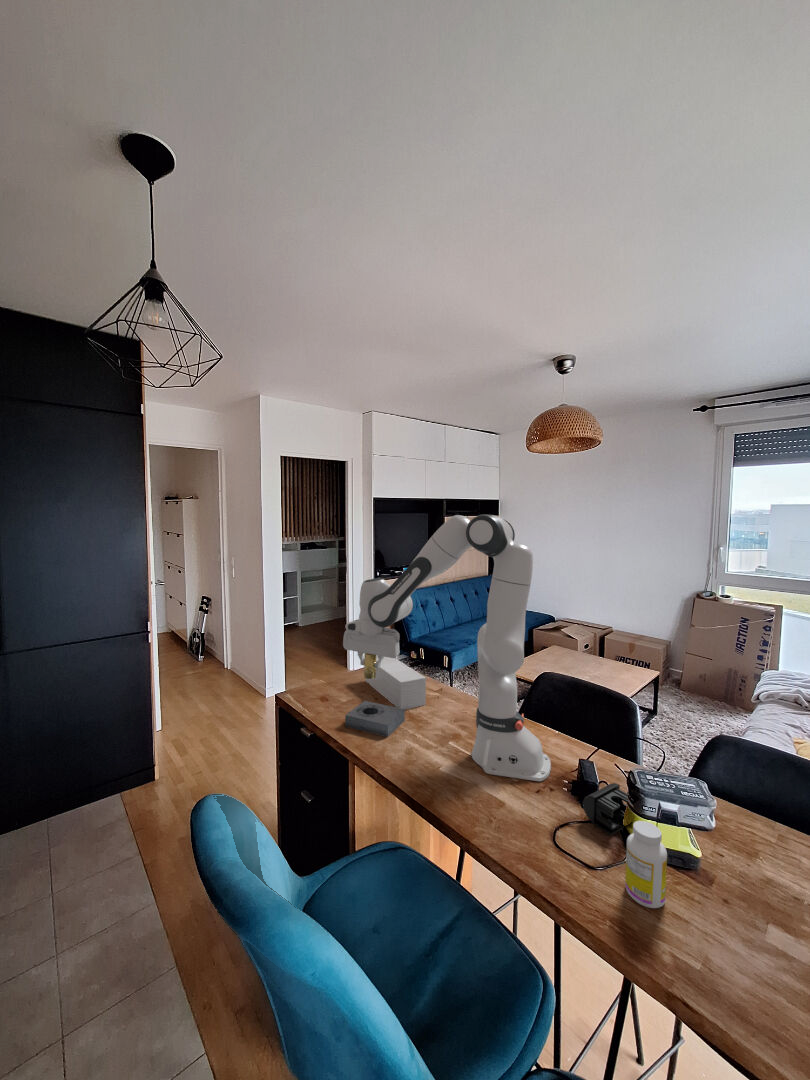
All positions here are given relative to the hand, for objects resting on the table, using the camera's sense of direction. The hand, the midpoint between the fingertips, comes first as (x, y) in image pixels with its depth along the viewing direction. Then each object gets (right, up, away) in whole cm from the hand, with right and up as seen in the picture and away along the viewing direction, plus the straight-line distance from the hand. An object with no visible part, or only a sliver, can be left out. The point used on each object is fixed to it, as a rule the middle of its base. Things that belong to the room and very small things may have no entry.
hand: (370, 666), depth 148 cm
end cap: (+60, -24, -45) cm, 79 cm away
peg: (0, -4, 0) cm, 4 cm away
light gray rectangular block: (+7, -19, +28) cm, 35 cm away
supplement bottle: (+57, -24, -66) cm, 90 cm away
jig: (+2, -20, +1) cm, 20 cm away
